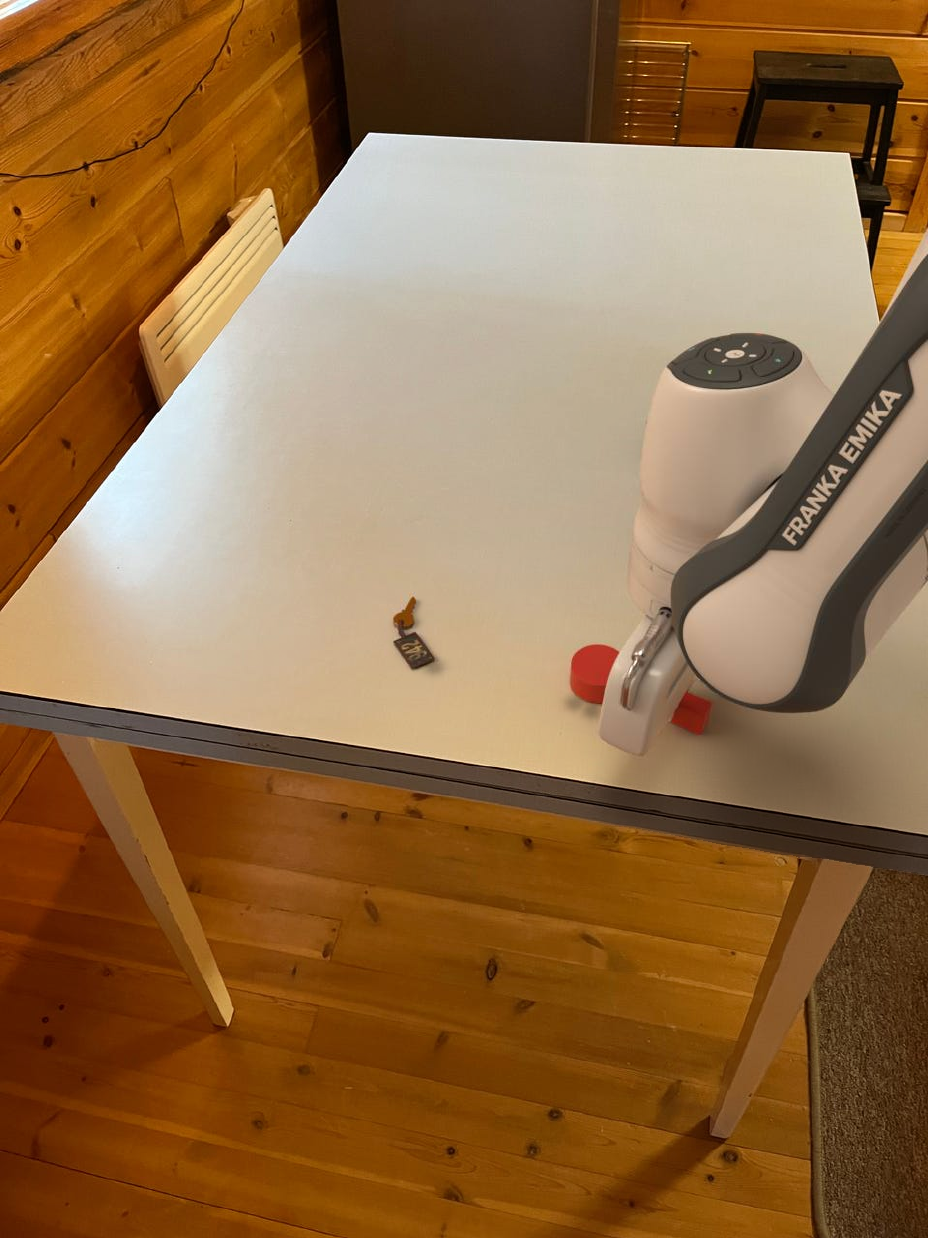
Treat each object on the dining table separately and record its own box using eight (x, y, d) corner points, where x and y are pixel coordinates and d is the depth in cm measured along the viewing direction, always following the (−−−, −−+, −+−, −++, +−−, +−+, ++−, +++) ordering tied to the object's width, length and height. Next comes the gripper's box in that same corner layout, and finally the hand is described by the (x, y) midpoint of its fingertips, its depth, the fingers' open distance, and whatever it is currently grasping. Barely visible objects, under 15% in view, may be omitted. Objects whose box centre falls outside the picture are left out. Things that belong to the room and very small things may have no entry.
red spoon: (715, 709, 73) (720, 689, 71) (693, 748, 70) (697, 729, 69) (585, 654, 77) (587, 635, 76) (560, 689, 75) (561, 670, 73)
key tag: (436, 663, 77) (436, 659, 77) (401, 671, 77) (400, 666, 76) (415, 597, 83) (414, 593, 82) (382, 604, 82) (381, 600, 82)
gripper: (676, 690, 54) (652, 818, 64) (792, 500, 66) (757, 633, 76) (580, 650, 57) (571, 779, 67) (708, 473, 69) (684, 605, 79)
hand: (671, 700), depth 72 cm, fingers closed on red spoon, 1 cm apart
